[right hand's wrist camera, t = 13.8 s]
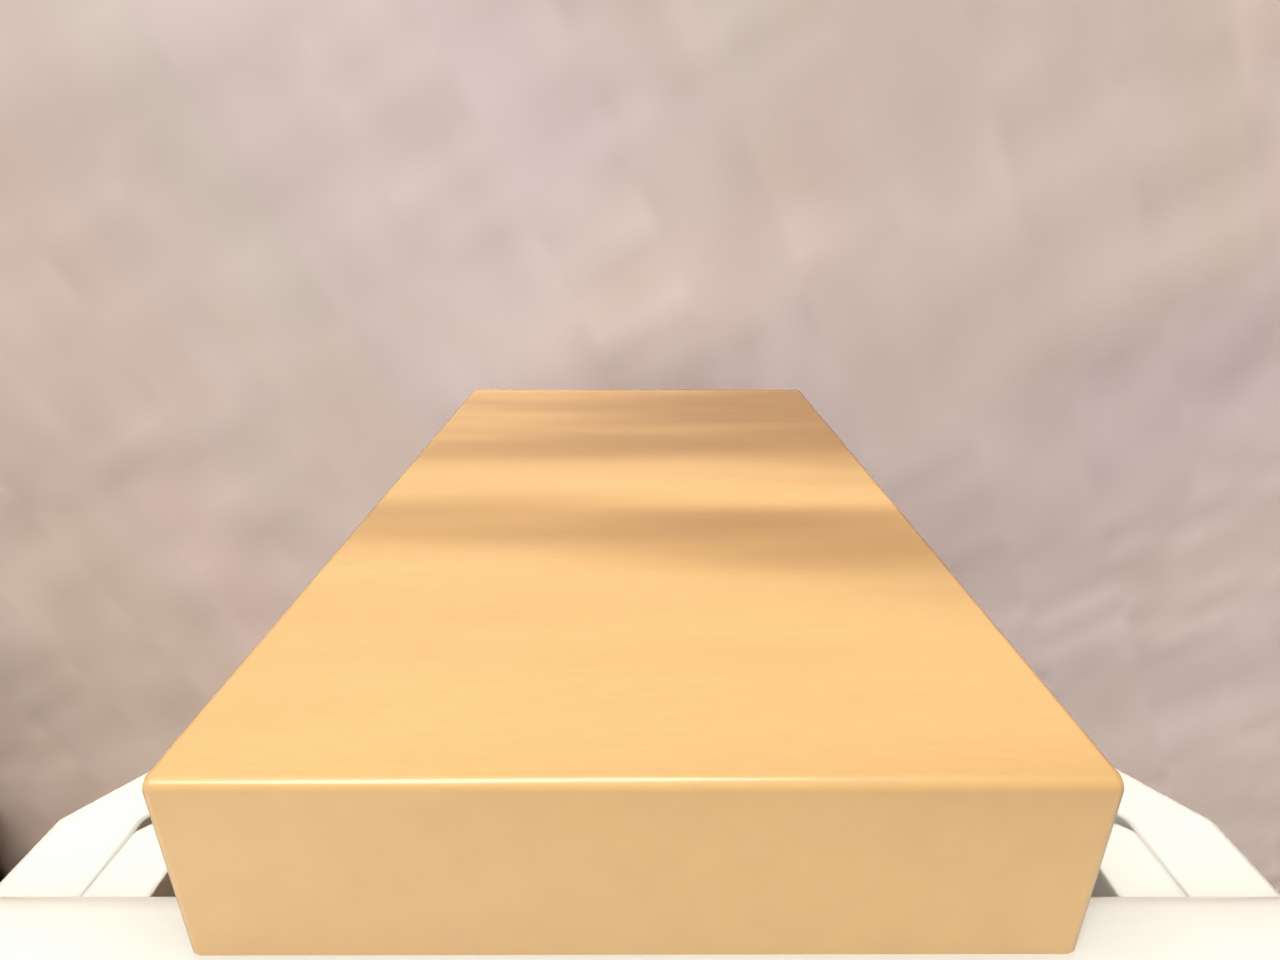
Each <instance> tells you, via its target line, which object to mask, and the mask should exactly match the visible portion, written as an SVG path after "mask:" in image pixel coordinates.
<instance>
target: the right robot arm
mask: <svg viewBox="0 0 1280 960" xmlns="http://www.w3.org/2000/svg"><path fill="white" fill-rule="evenodd" d="M1115 769H1116V768H1115ZM1116 770H1117V769H1116ZM1117 771H1118V772H1119V774H1120V775H1121V777H1122V780H1123V782H1124V793H1123V796H1122V800H1121V803H1120V806H1119V809H1118V812H1117V815H1116V819H1115V822H1114V825H1113V828H1112V831H1111V835H1110V838H1109V841H1108V844H1107V847H1106V851H1105V854H1104V857H1103V860H1102V863H1101V866H1100V870H1099V873H1098V876H1097V879H1096V882H1095V886H1094V889H1093V892H1092V895H1091V898H1090V902H1089V905H1088V908H1087V911H1086V914H1085V917H1084V921H1083V924H1082V927H1081V930H1080V933H1079V937H1078V940H1077V943H1076V946H1075V949H1074V951H1073V952H1071V953H1069V954H801V955H255V956H200V955H198V954H196V953H194V952H193V949H192V946H191V943H190V940H189V937H188V933H187V930H186V927H185V924H184V921H183V918H182V915H181V912H180V908H179V905H178V902H177V899H176V896H175V893H174V890H173V887H172V884H171V880H170V877H169V874H168V871H167V868H166V865H165V862H164V859H163V855H162V852H161V849H160V846H159V843H158V840H157V837H156V834H155V830H154V827H153V824H152V821H151V818H150V815H149V812H148V809H147V805H146V802H145V799H144V796H143V793H142V786H143V781H144V779H145V776H146V775H147V774H148V773H149V772H148V773H146V774H144V775H142V776H140V777H138V778H137V779H135V780H133V781H131V782H129V783H127V784H125V785H124V786H122V787H120V788H118V789H116V790H114V791H112V792H111V793H109V794H107V795H105V796H103V797H101V798H99V799H97V800H96V801H94V802H92V803H90V804H88V805H86V806H84V807H83V808H81V809H79V810H77V811H75V812H73V813H71V814H70V815H68V816H66V817H64V818H62V819H60V820H59V821H58V822H57V823H56V824H55V825H54V826H53V827H52V828H51V829H50V830H49V832H48V833H47V834H46V835H45V836H44V837H43V838H42V839H41V840H40V841H39V842H38V843H37V844H36V845H35V846H34V847H33V848H32V849H31V851H30V852H29V853H28V854H27V855H26V856H25V857H24V858H23V859H22V860H21V861H20V862H19V863H18V864H17V865H16V866H15V867H14V868H13V869H12V871H11V872H10V873H9V874H8V875H7V876H6V877H5V878H4V879H3V880H2V881H1V882H0V960H1280V894H1279V893H1278V891H1277V890H1276V889H1275V888H1274V887H1273V886H1272V885H1271V884H1270V883H1269V882H1268V881H1267V880H1266V879H1265V877H1264V876H1263V875H1262V874H1261V873H1260V872H1259V871H1258V870H1257V869H1256V868H1255V867H1254V866H1253V865H1252V863H1251V862H1250V861H1249V860H1248V859H1247V858H1246V857H1245V856H1244V855H1243V854H1242V853H1241V852H1240V851H1239V849H1238V848H1237V847H1236V846H1235V845H1234V844H1233V843H1232V842H1231V841H1230V840H1229V839H1228V838H1227V836H1226V835H1225V834H1224V833H1223V832H1222V831H1221V830H1220V829H1219V828H1218V827H1217V826H1216V825H1215V824H1214V822H1213V821H1211V820H1209V819H1207V818H1206V817H1204V816H1202V815H1200V814H1198V813H1196V812H1195V811H1193V810H1191V809H1189V808H1187V807H1185V806H1184V805H1182V804H1180V803H1178V802H1176V801H1174V800H1173V799H1171V798H1169V797H1167V796H1165V795H1163V794H1162V793H1160V792H1158V791H1156V790H1154V789H1152V788H1151V787H1149V786H1147V785H1145V784H1143V783H1141V782H1140V781H1138V780H1136V779H1134V778H1132V777H1130V776H1129V775H1127V774H1125V773H1123V772H1121V771H1119V770H1117Z"/></svg>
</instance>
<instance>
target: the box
mask: <svg viewBox="0 0 1280 960" xmlns="http://www.w3.org/2000/svg"><path fill="white" fill-rule="evenodd" d="M142 793H143V796H144V799H145V802H146V805H147V809H148V812H149V815H150V818H151V821H152V824H153V827H154V830H155V834H156V837H157V840H158V843H159V846H160V849H161V852H162V855H163V859H164V862H165V865H166V868H167V871H168V874H169V877H170V880H171V884H172V887H173V890H174V893H175V896H176V899H177V902H178V905H179V908H180V912H181V915H182V918H183V921H184V924H185V927H186V930H187V933H188V937H189V940H190V943H191V946H192V949H193V952H194V953H196V954H198V955H200V956H255V955H801V954H1069V953H1071V952H1073V951H1074V949H1075V946H1076V943H1077V940H1078V937H1079V933H1080V930H1081V927H1082V924H1083V921H1084V917H1085V914H1086V911H1087V908H1088V905H1089V902H1090V898H1091V895H1092V892H1093V889H1094V886H1095V882H1096V879H1097V876H1098V873H1099V870H1100V866H1101V863H1102V860H1103V857H1104V854H1105V851H1106V847H1107V844H1108V841H1109V838H1110V835H1111V831H1112V828H1113V825H1114V822H1115V819H1116V815H1117V812H1118V809H1119V806H1120V803H1121V800H1122V796H1123V793H1124V782H1123V780H1122V777H1121V775H1120V774H1119V772H1118V771H1117V770H1116V769H1115V768H1114V766H1113V765H1112V764H1111V763H1110V762H1109V760H1108V759H1107V758H1106V757H1105V756H1104V754H1103V753H1102V752H1101V751H1100V750H1099V749H1098V747H1097V746H1096V745H1095V744H1094V743H1093V741H1092V740H1091V739H1090V738H1089V737H1088V735H1087V734H1086V733H1085V732H1084V731H1083V729H1082V728H1081V727H1080V726H1079V725H1078V723H1077V722H1076V721H1075V720H1074V719H1073V717H1072V716H1071V715H1070V714H1069V713H1068V711H1067V710H1066V709H1065V708H1064V707H1063V705H1062V704H1061V703H1060V702H1059V701H1058V699H1057V698H1056V697H1055V696H1054V695H1053V694H1052V692H1051V691H1050V690H1049V689H1048V688H1047V686H1046V685H1045V684H1044V683H1043V682H1042V680H1041V679H1040V678H1039V677H1038V676H1037V674H1036V673H1035V672H1034V671H1033V670H1032V668H1031V667H1030V666H1029V665H1028V664H1027V662H1026V661H1025V660H1024V659H1023V658H1022V656H1021V655H1020V654H1019V653H1018V652H1017V650H1016V649H1015V648H1014V647H1013V646H1012V644H1011V643H1010V642H1009V641H1008V640H1007V638H1006V637H1005V636H1004V635H1003V634H1002V633H1001V631H1000V630H999V629H998V628H997V627H996V625H995V624H994V623H993V622H992V621H991V619H990V618H989V617H988V616H987V615H986V613H985V612H984V611H983V610H982V609H981V607H980V606H979V605H978V604H977V603H976V601H975V600H974V599H973V598H972V597H971V595H970V594H969V593H968V592H967V591H966V589H965V588H964V587H963V586H962V585H961V583H960V582H959V581H958V580H957V579H956V577H955V576H954V575H953V574H952V573H951V572H950V570H949V569H948V568H947V567H946V566H945V564H944V563H943V562H942V561H941V560H940V558H939V557H938V556H937V555H936V554H935V552H934V551H933V550H932V549H931V548H930V546H929V545H928V544H927V543H926V542H925V540H924V539H923V538H922V537H921V536H920V534H919V533H918V532H917V531H916V530H915V528H914V527H913V526H912V525H911V524H910V522H909V521H908V520H907V519H906V518H905V516H904V515H903V514H902V513H901V512H900V511H899V509H898V508H897V507H896V506H895V505H894V503H893V502H892V501H891V500H890V499H889V497H888V496H887V495H886V494H885V493H884V491H883V490H882V489H881V488H880V487H879V485H878V484H877V483H876V482H875V481H874V479H873V478H872V477H871V476H870V475H869V473H868V472H867V471H866V470H865V469H864V467H863V466H862V465H861V464H860V463H859V461H858V460H857V459H856V458H855V457H854V455H853V454H852V453H851V452H850V451H849V450H848V448H847V447H846V446H845V445H844V444H843V442H842V441H841V440H840V439H839V438H838V436H837V435H836V434H835V433H834V432H833V430H832V429H831V428H830V427H829V426H828V424H827V423H826V422H825V421H824V420H823V418H822V417H821V416H820V415H819V414H818V412H817V411H816V410H815V409H814V408H813V406H812V405H811V404H810V403H809V402H808V400H807V399H806V398H805V397H804V396H803V395H802V393H801V392H800V391H798V390H475V391H473V393H472V394H471V395H470V396H469V397H468V399H467V400H466V401H465V402H464V403H463V404H462V406H461V407H460V408H459V409H458V410H457V411H456V413H455V414H454V415H453V416H452V417H451V418H450V420H449V421H448V422H447V423H446V424H445V425H444V427H443V428H442V429H441V430H440V431H439V433H438V434H437V435H436V436H435V437H434V438H433V440H432V441H431V442H430V443H429V444H428V445H427V447H426V448H425V449H424V450H423V451H422V452H421V454H420V455H419V456H418V457H417V458H416V459H415V461H414V462H413V463H412V464H411V465H410V467H409V468H408V469H407V470H406V471H405V472H404V474H403V475H402V476H401V477H400V478H399V479H398V481H397V482H396V483H395V484H394V485H393V486H392V488H391V489H390V490H389V491H388V492H387V494H386V495H385V496H384V497H383V498H382V499H381V501H380V502H379V503H378V504H377V505H376V506H375V508H374V509H373V510H372V511H371V512H370V513H369V515H368V516H367V517H366V518H365V519H364V520H363V522H362V523H361V524H360V525H359V526H358V528H357V529H356V530H355V531H354V532H353V533H352V535H351V536H350V537H349V538H348V539H347V540H346V542H345V543H344V544H343V545H342V546H341V547H340V549H339V550H338V551H337V552H336V553H335V554H334V556H333V557H332V558H331V559H330V560H329V562H328V563H327V564H326V565H325V566H324V567H323V569H322V570H321V571H320V572H319V573H318V574H317V576H316V577H315V578H314V579H313V580H312V581H311V583H310V584H309V585H308V586H307V587H306V589H305V590H304V591H303V592H302V593H301V594H300V596H299V597H298V598H297V599H296V600H295V601H294V603H293V604H292V605H291V606H290V607H289V608H288V610H287V611H286V612H285V613H284V614H283V615H282V617H281V618H280V619H279V620H278V621H277V623H276V624H275V625H274V626H273V627H272V628H271V630H270V631H269V632H268V633H267V634H266V635H265V637H264V638H263V639H262V640H261V641H260V642H259V644H258V645H257V646H256V647H255V648H254V649H253V651H252V652H251V653H250V654H249V655H248V657H247V658H246V659H245V660H244V661H243V662H242V664H241V665H240V666H239V667H238V668H237V669H236V671H235V672H234V673H233V674H232V675H231V676H230V678H229V679H228V680H227V681H226V682H225V683H224V685H223V686H222V687H221V688H220V689H219V691H218V692H217V693H216V694H215V695H214V696H213V698H212V699H211V700H210V701H209V702H208V703H207V705H206V706H205V707H204V708H203V709H202V710H201V712H200V713H199V714H198V715H197V716H196V718H195V719H194V720H193V721H192V722H191V723H190V725H189V726H188V727H187V728H186V729H185V730H184V732H183V733H182V734H181V735H180V736H179V737H178V739H177V740H176V741H175V742H174V743H173V744H172V746H171V747H170V748H169V749H168V750H167V752H166V753H165V754H164V755H163V756H162V757H161V759H160V760H159V761H158V762H157V763H156V764H155V766H154V767H153V768H152V769H151V770H150V771H149V773H148V774H147V775H146V776H145V779H144V781H143V786H142Z"/></svg>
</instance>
